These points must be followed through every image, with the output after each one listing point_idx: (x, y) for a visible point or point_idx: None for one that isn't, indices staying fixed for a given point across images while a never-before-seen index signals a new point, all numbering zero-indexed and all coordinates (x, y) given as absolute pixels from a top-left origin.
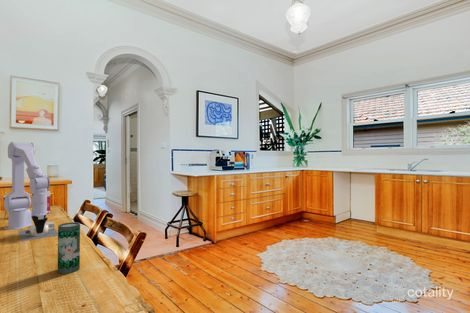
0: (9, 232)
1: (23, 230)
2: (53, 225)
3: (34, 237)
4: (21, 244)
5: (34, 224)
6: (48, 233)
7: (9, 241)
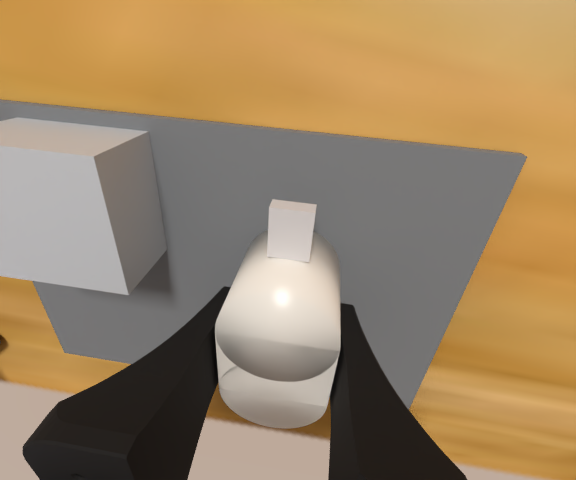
0: (61, 376)
1: (57, 331)
2: (114, 157)
3: (370, 339)
4: (472, 412)
5: (206, 402)
6: None
7: (317, 424)
